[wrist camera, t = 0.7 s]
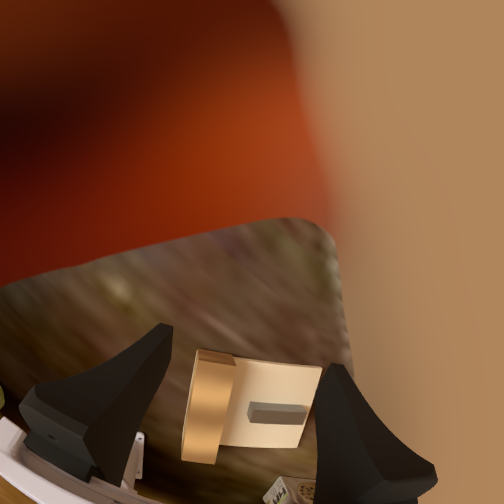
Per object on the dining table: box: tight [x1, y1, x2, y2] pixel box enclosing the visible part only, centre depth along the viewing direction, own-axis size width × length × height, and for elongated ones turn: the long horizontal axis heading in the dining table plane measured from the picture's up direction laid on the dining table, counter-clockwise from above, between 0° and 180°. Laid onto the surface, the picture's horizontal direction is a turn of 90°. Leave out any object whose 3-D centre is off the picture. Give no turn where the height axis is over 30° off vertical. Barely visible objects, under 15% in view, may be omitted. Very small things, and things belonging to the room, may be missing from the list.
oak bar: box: [182, 349, 237, 464], centre depth 30 cm, size 14×4×4 cm, turn 168°
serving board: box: [182, 350, 322, 448], centre depth 34 cm, size 13×16×1 cm
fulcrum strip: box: [247, 401, 307, 425], centre depth 33 cm, size 2×7×2 cm, turn 78°
